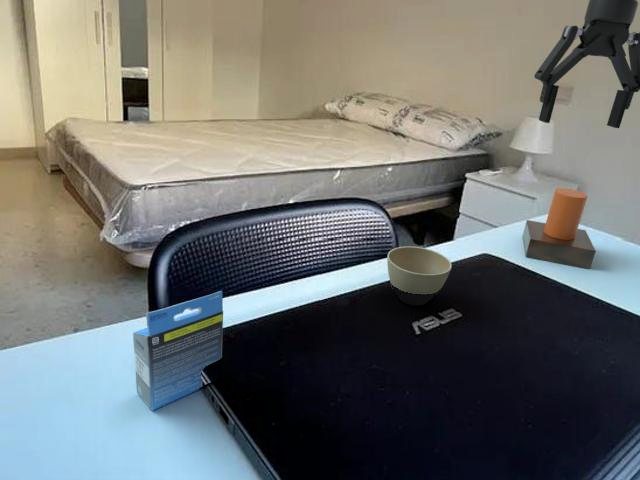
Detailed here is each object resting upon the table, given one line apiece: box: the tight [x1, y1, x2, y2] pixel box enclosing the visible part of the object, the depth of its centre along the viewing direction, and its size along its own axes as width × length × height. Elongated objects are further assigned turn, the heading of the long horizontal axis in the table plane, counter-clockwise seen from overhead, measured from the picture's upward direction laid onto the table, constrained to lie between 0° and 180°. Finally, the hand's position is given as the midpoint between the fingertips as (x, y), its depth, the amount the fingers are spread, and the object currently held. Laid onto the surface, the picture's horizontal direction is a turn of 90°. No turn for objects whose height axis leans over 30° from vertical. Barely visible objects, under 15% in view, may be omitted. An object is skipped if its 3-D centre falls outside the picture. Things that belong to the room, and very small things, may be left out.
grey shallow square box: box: [522, 219, 596, 270], centre depth 104 cm, size 12×12×4 cm
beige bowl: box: [386, 245, 453, 295], centre depth 80 cm, size 10×10×7 cm
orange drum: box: [544, 187, 588, 240], centre depth 101 cm, size 6×6×9 cm
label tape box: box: [132, 290, 224, 411], centre depth 55 cm, size 9×4×12 cm, turn 133°
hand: (578, 124), depth 93 cm, fingers open, 13 cm apart
